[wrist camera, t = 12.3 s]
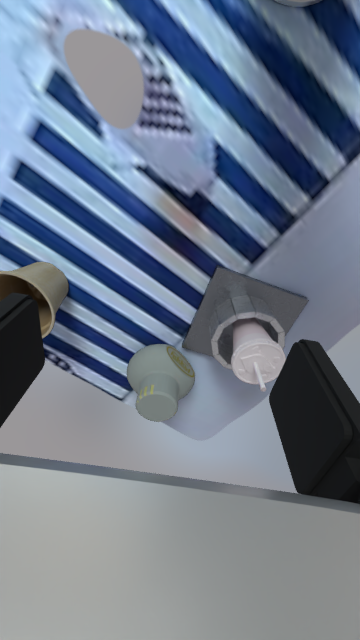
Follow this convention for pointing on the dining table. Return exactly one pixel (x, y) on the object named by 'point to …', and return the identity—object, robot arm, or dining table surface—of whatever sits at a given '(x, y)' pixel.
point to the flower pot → (37, 289)
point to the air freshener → (159, 380)
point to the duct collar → (239, 313)
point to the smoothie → (255, 353)
